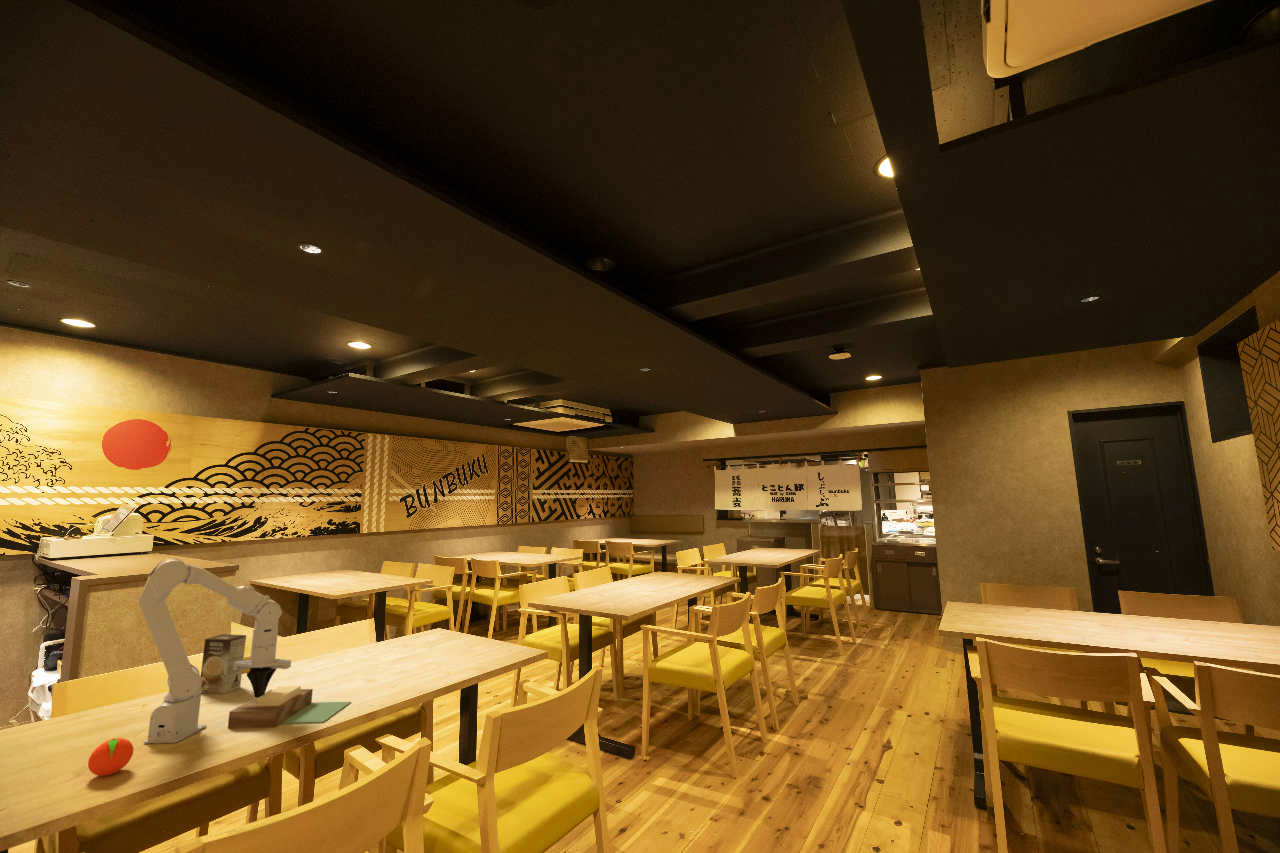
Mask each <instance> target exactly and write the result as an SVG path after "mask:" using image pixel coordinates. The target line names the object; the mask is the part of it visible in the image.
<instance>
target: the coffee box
mask: <svg viewBox="0 0 1280 853" xmlns="http://www.w3.org/2000/svg"><path fill="white" fill-rule="evenodd" d="M246 641H247V635H246V634H230V633H229V634H228V633H221V634H219V635H214V636H211V637H208V638H207V637H206V638H205V639H204V644H203V646H204V647H203V654H202V661H201V669H200V670H201V671H200V676H201V678H202V686H201V688H200V689H199V690H201V694H217V695H218V694H221V695H222V694H223V695H224V694H226V693H229V692H231V691H235V690H236V689H238V688H241V684H242V676H243V675H242V674H243V669H238V670H233V665H234V663H235V662H237V661H244V657H245V649H246Z"/></svg>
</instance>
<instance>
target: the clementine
mask: <svg viewBox="0 0 1280 853" xmlns="http://www.w3.org/2000/svg"><path fill="white" fill-rule="evenodd" d="M133 754H134V746H133V744H132V742H131V741H130V740H129V739H126V738H123V737H118V738H112V739H109V740H106V741H104V742H103V743H100V745H98V746H97V747H96V748H95V749H94V750H93V751H92V753H91V754H90V756H89V759H88V760H87V767H88V769H89V771H90V772H91V773H92V774H93V775H95V776H97V777H98V776H100V777H105V776H110V775H113V774H115V773H117V772H119V771H120V770H122V769H123V768H125V767H126V766H127V764H128V763H129V762H130V761H131V759H132V757H133Z"/></svg>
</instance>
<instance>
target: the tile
mask: <svg viewBox="0 0 1280 853" xmlns="http://www.w3.org/2000/svg"><path fill="white" fill-rule="evenodd" d="M301 687H302V686H301V685H291V686H290V685H288V686H287V685H286V686H285V685H284V686H282V685H281V686H280V685H279V686H277V687H276V688H273V689H271V690H272V691H270V690H269V691H270V692H268V691H267V692H268V693H266V692H265V693H266V694H264V695H262V696H260V697H258V698H257V706H280V705H281V704H283V703H285V702H286V701H288V700H290V699H291V698H293V697H295V696H297V695H298V694H300V689H302V688H301Z"/></svg>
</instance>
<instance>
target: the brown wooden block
mask: <svg viewBox="0 0 1280 853" xmlns="http://www.w3.org/2000/svg"><path fill="white" fill-rule="evenodd" d="M272 690H273V689H269V690H268V691H265V694H266V693H268V692H270V691H272ZM313 690H314V689H313V688H310V689H309V688H304V689H303V688H300V694H298V695H297V696H295V697H293V698H291V699H290V700H288V701H286V702H285V703H283V704H281V705H280V706H257V698H255V697H254V698H252V699H251V700H249V701H246V702H245V703H243V704H241V705H240V706H239V705H238V706H237V707H236V708H233V709H232V710H230V711H229V712H228V722H227V723H228V724H227V729H235V728H236V729H238V728H239V729H245V728H246V729H247V728H249V729H250V728H252V729H253V728H276V727H277V726H279V725H280V724H281V722H283V721H284V720H286V719H287V718H289V717H291V716H292V715H294V714H295V713H297V712H298V711H300V710H302V709H303V708H305V707H306V706H308V705H309V704H311V703H313Z"/></svg>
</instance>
